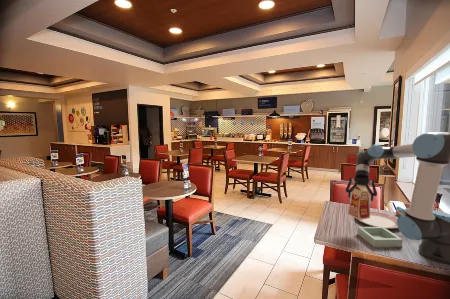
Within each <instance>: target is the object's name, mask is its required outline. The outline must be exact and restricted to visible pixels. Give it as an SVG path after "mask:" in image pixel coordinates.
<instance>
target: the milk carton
mask: <svg viewBox="0 0 450 299" xmlns="http://www.w3.org/2000/svg"><path fill="white" fill-rule="evenodd" d="M369 196H370V194H369V192H368V190H367V188H366V186H360V185H357V187H356V188H354V190H353V191H352V201H351V203H350V202H349V205H348V210H347V215H348V216H350V217H353V219H355V220H358V221H359V220H363V219H368V218H370V211H371V206H369Z"/></svg>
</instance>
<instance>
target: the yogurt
mask: <svg viewBox="0 0 450 299" xmlns="http://www.w3.org/2000/svg"><path fill="white" fill-rule="evenodd" d="M395 210H396V211H395V215H396V214H397V216H398V217H400V216H402V215H403V216H404V213H405V208H402V207H400V206H396V209H395Z"/></svg>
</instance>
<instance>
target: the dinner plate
mask: <svg viewBox="0 0 450 299" xmlns="http://www.w3.org/2000/svg"><path fill="white" fill-rule="evenodd" d="M397 219H398V217H396V216H393V215H391V214H387V213H385V212H379V211H371V210H370V218H368V219H363V220H358V221H359V222H361V223H364V224H365V225H368V226H369V227H384V228H385V229H387V230H391V229H398V226H397Z"/></svg>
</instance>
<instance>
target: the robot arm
mask: <svg viewBox="0 0 450 299" xmlns="http://www.w3.org/2000/svg"><path fill="white" fill-rule="evenodd" d="M414 157H415V158H416V161H417V162H418V168H417V172H416V177H415V181H414V186H413V190H412V195H411V200H410V205H409V207H406V208H404V210H405V213H404V216H403V215H402V216H398V217H397V218H398V219H397V226H398V228H397V229H398V230H399V232H400V234H401V235H402V236H403V237H404V238H406V239H408V240H410V241H411V240H412V241H420V240H421V242H420V244H419V245H418V252H419V254H421V256H423V257H425V258H427V259H429V260H432V261H434V262H436V263H441V264H445V265H450V213H447V212H444V211H440V210H434V207H435V203H436V199H437V195H438V191H439V186H440V182H441V177H442V174H443V169H444V167H445V166H448V165H449V164H450V132H443V131H442V132H440V131H439V132H436V131H435V132H433V131H432V132H426V133H421V134H419V135H418V136H417V137H416V138H415V139H414V141H412V143H408V144H403V145H402V144H401V145H396V146H381V145H379V144H377V143H375V144H372V145H371V146H369V147H368V149H366V150H365V151H364V150H363V151H359V152H358V153H357V155H356V162H355V163H356V164H355V177H354V178H352V177H349V181H348V183H347V186H346V188H345V193H348V194H347V196H348V198H349V204H350V203H351V201H352V194H353V191H354V188H356V187H357V185H360V186H366V187H365V188H366V190H367V191H368V194H369V206H370V207H371V204H372V202H374V197H377V196H378V192H377V188H376V185H375V182H376V180H374V179H372V180H371V179H370V165H371V163H373V162H374V161H375V160H389V159H391V160H396V159H402V158H404V159H405V158H414ZM353 182H354V184H353ZM369 183H370V184H371V187H372V189H371V187H370V186H369ZM352 184H353V185H352Z"/></svg>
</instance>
